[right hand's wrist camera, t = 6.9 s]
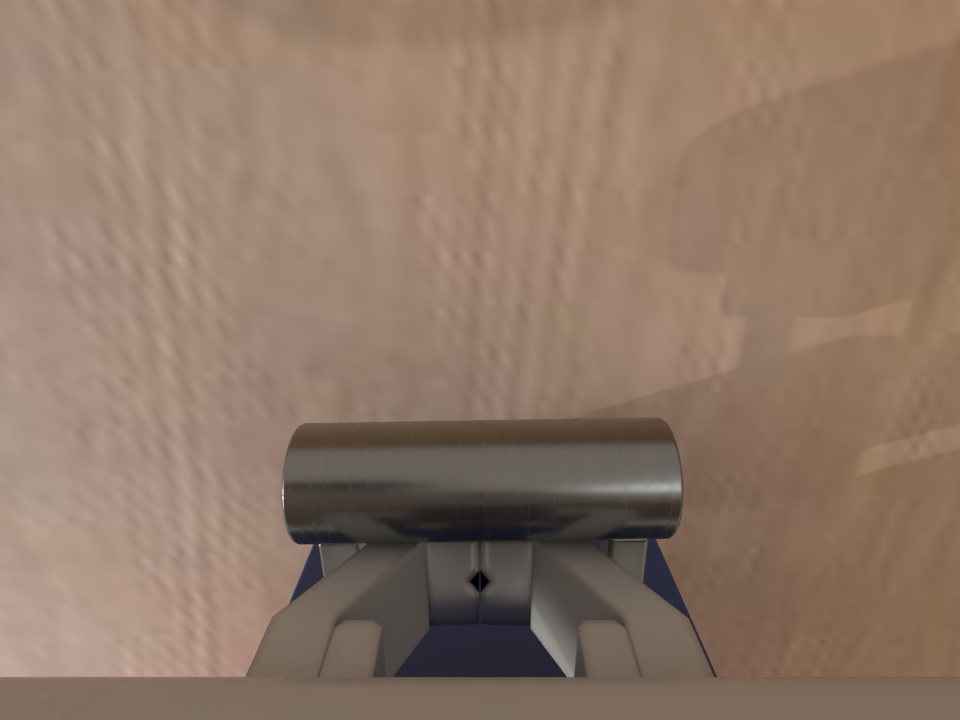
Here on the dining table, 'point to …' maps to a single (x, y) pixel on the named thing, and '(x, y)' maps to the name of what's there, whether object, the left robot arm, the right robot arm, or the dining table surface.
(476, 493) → the drawer
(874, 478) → the dining table surface
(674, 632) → the right robot arm
